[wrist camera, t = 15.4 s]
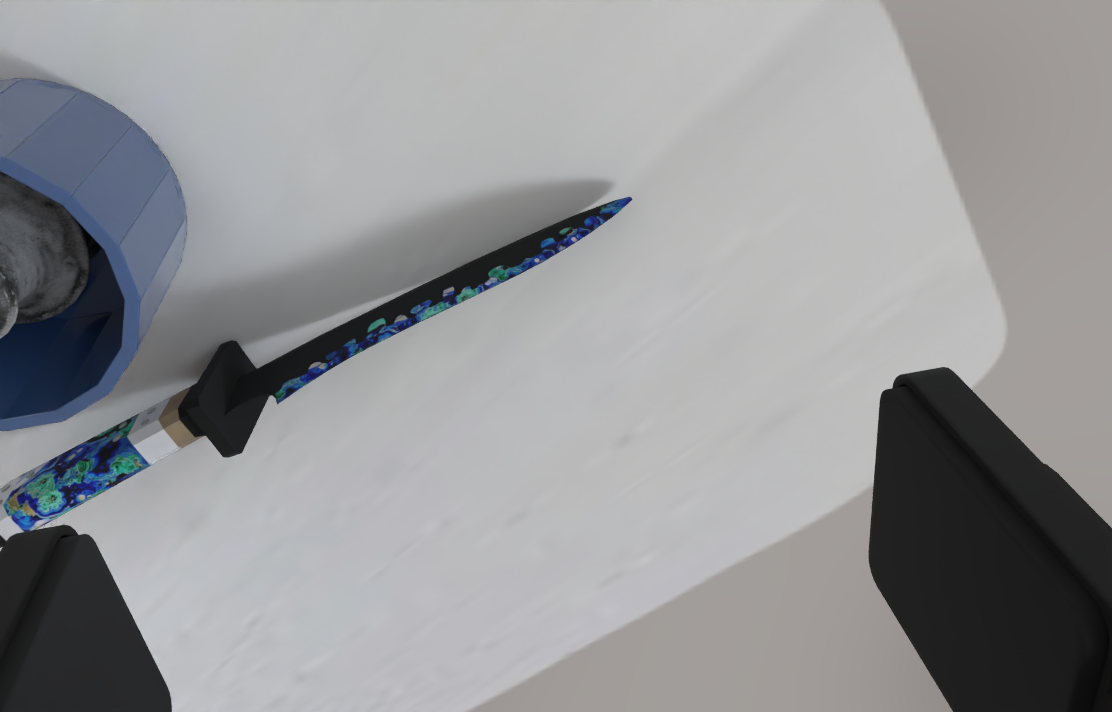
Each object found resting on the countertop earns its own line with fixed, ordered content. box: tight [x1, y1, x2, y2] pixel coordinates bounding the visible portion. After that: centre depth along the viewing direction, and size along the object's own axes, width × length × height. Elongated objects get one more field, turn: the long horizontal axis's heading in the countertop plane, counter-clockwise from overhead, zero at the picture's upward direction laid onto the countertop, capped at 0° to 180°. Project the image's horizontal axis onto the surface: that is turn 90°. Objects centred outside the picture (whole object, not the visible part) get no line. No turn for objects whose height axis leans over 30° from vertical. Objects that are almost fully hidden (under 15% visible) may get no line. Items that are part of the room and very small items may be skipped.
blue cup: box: [0, 79, 187, 431], centre depth 33 cm, size 10×10×8 cm
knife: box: [0, 197, 632, 548], centre depth 39 cm, size 31×3×4 cm, turn 110°
